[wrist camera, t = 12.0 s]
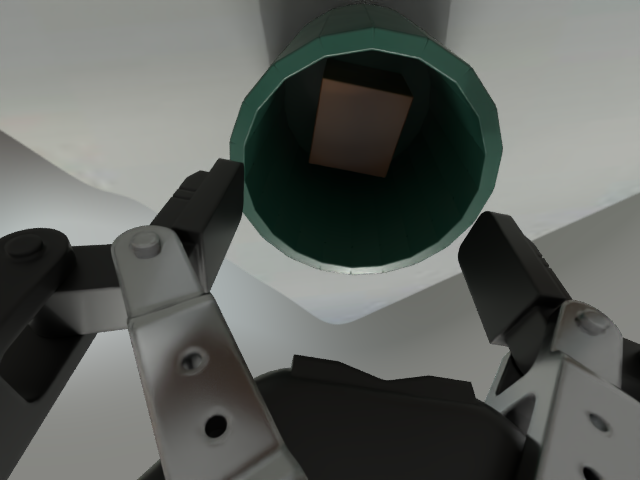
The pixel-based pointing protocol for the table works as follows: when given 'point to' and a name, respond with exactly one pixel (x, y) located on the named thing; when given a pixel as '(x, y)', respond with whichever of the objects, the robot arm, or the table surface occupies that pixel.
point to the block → (359, 118)
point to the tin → (356, 188)
